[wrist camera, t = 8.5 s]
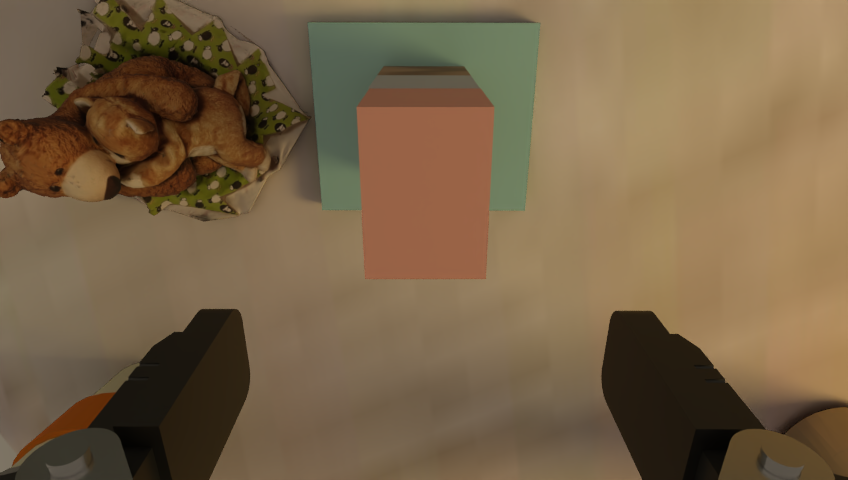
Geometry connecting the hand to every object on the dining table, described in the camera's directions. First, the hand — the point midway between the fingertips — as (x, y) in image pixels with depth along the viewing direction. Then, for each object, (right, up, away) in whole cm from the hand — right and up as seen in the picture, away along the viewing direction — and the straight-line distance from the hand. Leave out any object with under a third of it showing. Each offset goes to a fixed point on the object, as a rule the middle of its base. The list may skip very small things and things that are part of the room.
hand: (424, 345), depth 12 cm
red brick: (0, +6, +14) cm, 15 cm away
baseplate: (0, +10, +24) cm, 26 cm away
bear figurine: (-16, +11, +24) cm, 31 cm away
